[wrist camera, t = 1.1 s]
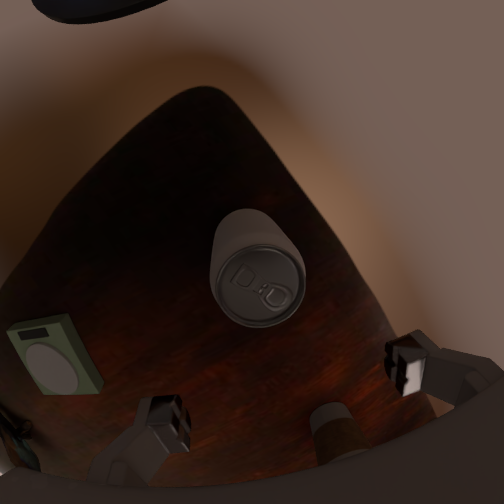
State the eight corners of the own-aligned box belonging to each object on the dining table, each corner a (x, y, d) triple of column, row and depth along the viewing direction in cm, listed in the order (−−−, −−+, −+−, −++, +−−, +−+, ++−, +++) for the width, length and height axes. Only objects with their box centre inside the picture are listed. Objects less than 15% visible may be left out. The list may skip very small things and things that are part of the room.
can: (254, 281, 31) (271, 348, 19) (201, 248, 29) (188, 302, 18) (291, 231, 30) (332, 274, 18) (238, 194, 28) (248, 215, 17)
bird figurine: (-22, 398, 33) (-15, 486, 19) (-17, 380, 32) (-10, 480, 18) (28, 415, 42) (44, 496, 29) (40, 399, 41) (57, 491, 28)
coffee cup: (362, 411, 39) (398, 482, 25) (317, 437, 40) (341, 511, 26) (340, 386, 37) (380, 469, 22) (290, 416, 37) (313, 501, 23)
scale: (14, 322, 30) (3, 333, 27) (68, 312, 30) (57, 324, 27) (49, 384, 33) (42, 397, 30) (104, 382, 33) (98, 396, 30)
